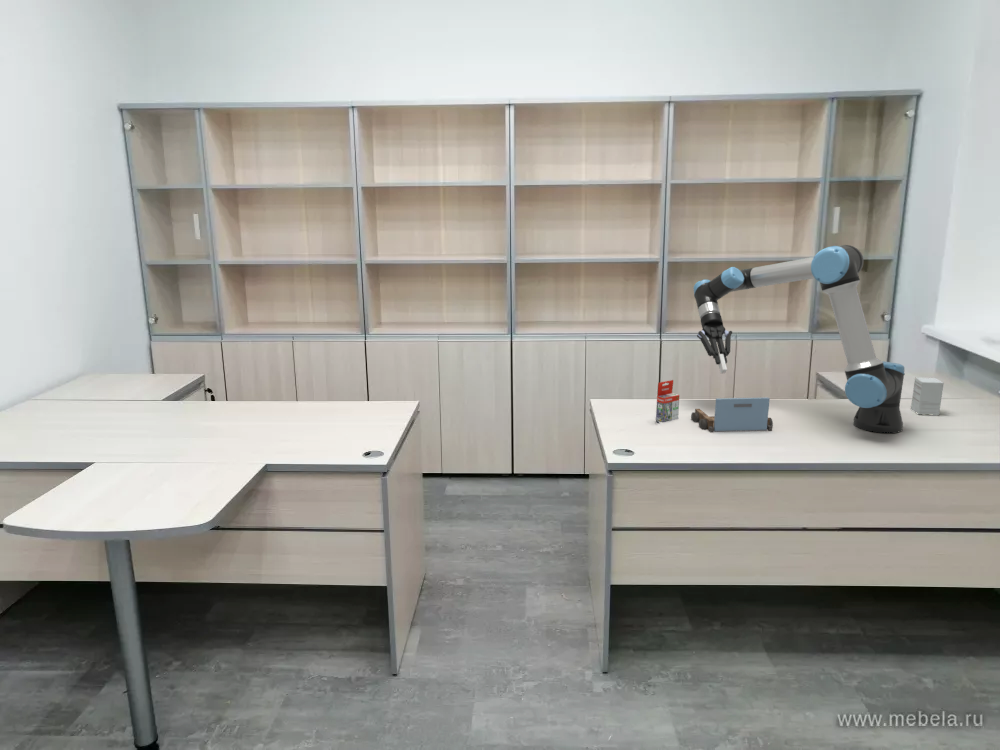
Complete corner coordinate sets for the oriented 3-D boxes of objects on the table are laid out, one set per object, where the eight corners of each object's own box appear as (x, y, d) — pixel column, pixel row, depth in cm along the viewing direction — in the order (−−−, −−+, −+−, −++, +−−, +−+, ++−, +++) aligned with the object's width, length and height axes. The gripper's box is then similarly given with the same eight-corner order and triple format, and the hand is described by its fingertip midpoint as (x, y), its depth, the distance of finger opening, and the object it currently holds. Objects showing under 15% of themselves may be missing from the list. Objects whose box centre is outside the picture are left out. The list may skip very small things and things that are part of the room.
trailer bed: (689, 420, 254) (690, 408, 253) (756, 419, 256) (757, 407, 255) (705, 435, 239) (706, 422, 238) (776, 433, 240) (777, 420, 239)
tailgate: (713, 432, 240) (715, 398, 237) (765, 431, 242) (768, 397, 239) (714, 433, 239) (717, 399, 236) (766, 432, 240) (769, 398, 237)
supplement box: (931, 410, 267) (936, 377, 264) (939, 416, 260) (944, 382, 257) (909, 409, 268) (914, 376, 265) (917, 415, 261) (922, 381, 258)
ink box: (678, 421, 254) (681, 381, 250) (662, 425, 249) (665, 384, 246) (670, 418, 257) (673, 379, 253) (655, 422, 252) (657, 382, 249)
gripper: (724, 322, 269) (738, 376, 257) (690, 323, 268) (702, 377, 256) (730, 311, 263) (745, 365, 251) (696, 311, 262) (709, 366, 250)
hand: (723, 371), depth 253 cm, fingers closed
